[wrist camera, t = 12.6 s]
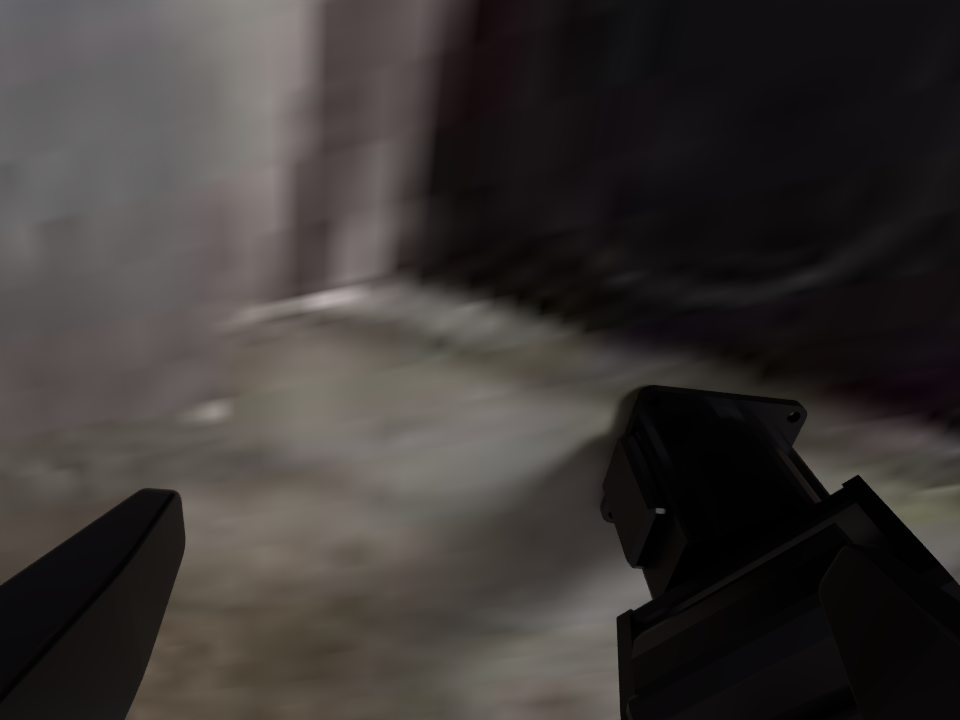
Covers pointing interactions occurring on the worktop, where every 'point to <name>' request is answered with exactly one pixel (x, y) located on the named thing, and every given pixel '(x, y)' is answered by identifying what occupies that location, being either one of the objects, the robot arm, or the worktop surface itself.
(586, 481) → the worktop surface
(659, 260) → the worktop surface
